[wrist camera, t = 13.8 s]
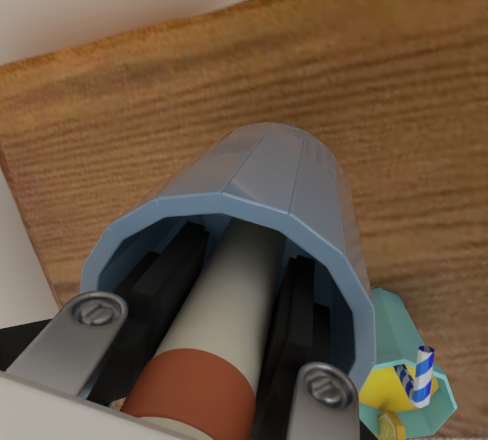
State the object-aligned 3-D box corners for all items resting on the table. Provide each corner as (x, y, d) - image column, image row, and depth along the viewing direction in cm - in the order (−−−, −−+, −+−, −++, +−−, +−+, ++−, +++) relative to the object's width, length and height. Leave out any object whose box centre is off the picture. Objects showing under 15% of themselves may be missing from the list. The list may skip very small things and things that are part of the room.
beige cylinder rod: (300, 189, 17) (244, 534, 5) (285, 235, 19) (205, 619, 6) (248, 173, 18) (62, 468, 5) (236, 221, 19) (58, 562, 6)
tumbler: (373, 148, 17) (433, 255, 8) (319, 286, 20) (316, 476, 11) (210, 102, 17) (87, 151, 8) (182, 244, 21) (72, 391, 12)
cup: (338, 235, 34) (353, 354, 20) (431, 237, 32) (515, 368, 19) (331, 357, 39) (340, 517, 26) (411, 364, 38) (465, 536, 24)
